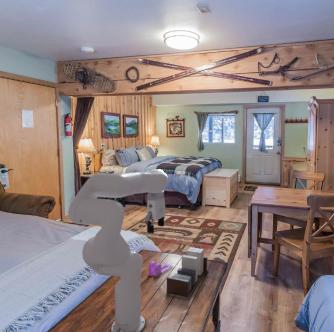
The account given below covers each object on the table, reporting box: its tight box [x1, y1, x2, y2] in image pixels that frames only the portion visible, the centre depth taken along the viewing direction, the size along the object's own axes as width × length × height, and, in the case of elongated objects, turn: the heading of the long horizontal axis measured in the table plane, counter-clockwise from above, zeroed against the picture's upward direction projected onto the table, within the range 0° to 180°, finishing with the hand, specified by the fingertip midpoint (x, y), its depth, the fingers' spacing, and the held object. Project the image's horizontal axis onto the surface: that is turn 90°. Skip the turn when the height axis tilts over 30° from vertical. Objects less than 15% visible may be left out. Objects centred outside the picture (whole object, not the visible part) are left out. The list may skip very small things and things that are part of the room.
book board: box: [166, 255, 208, 298], centre depth 140 cm, size 26×11×9 cm, turn 166°
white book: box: [181, 254, 198, 283], centre depth 140 cm, size 2×8×13 cm, turn 76°
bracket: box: [148, 260, 172, 277], centre depth 151 cm, size 13×6×7 cm, turn 150°
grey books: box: [171, 267, 196, 291], centre depth 134 cm, size 10×9×7 cm
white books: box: [186, 246, 205, 275], centre depth 148 cm, size 4×8×13 cm, turn 76°
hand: (155, 229), depth 132 cm, fingers open, 9 cm apart
